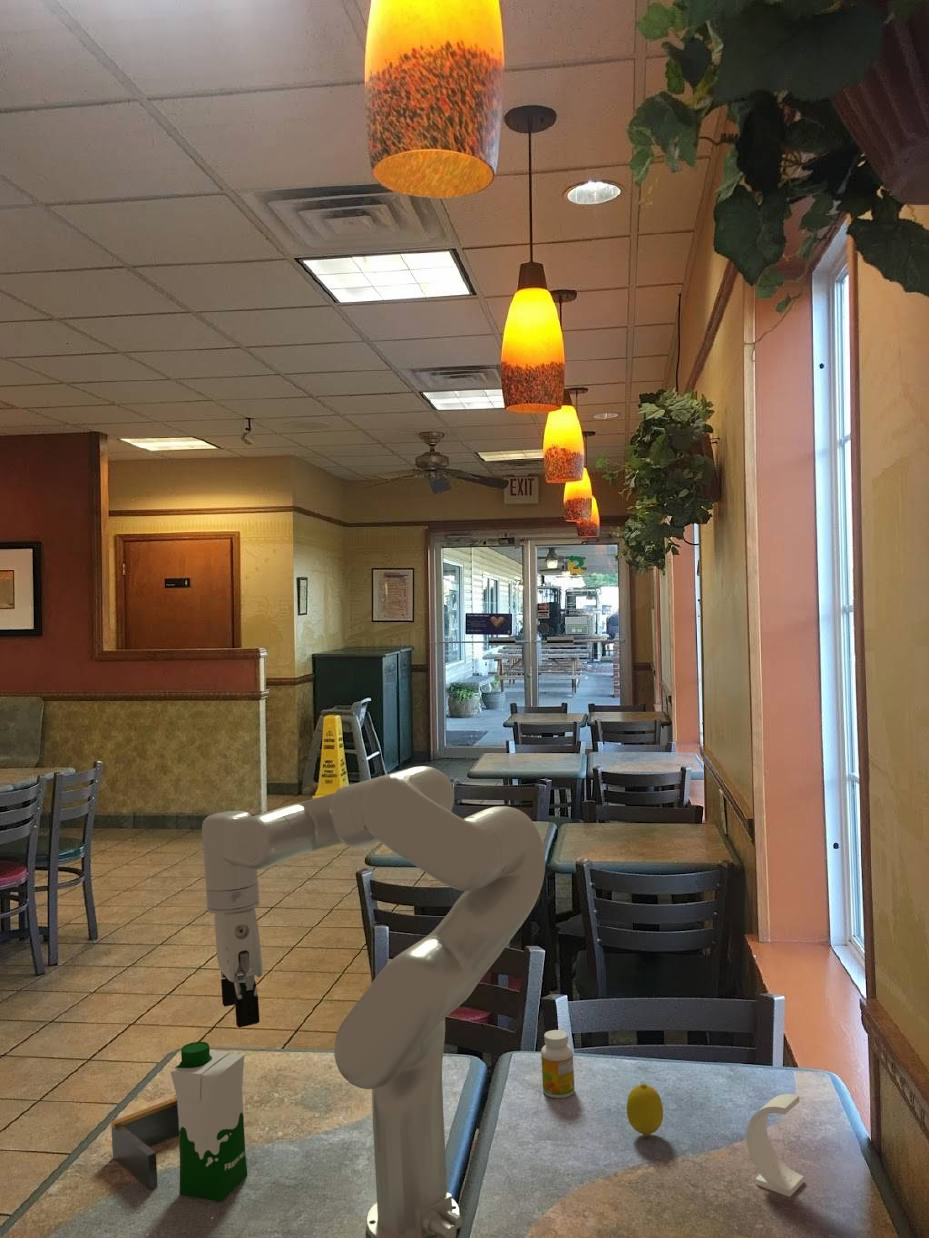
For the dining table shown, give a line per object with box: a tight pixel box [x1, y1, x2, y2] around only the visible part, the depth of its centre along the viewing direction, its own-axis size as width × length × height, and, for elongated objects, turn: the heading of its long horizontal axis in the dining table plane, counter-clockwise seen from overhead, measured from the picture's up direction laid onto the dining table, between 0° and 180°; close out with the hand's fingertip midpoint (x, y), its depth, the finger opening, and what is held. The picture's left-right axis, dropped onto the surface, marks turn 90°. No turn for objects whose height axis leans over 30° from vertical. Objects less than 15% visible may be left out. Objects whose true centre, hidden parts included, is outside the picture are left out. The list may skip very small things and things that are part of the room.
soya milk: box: [170, 1041, 248, 1202], centre depth 145 cm, size 9×9×20 cm
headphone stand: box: [745, 1093, 805, 1198], centre depth 138 cm, size 5×6×12 cm
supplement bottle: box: [540, 1029, 575, 1099], centre depth 169 cm, size 5×5×10 cm
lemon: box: [626, 1083, 664, 1138], centre depth 152 cm, size 6×6×8 cm
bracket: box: [110, 1096, 179, 1191], centre depth 154 cm, size 13×14×6 cm
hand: (240, 1014), depth 145 cm, fingers open, 9 cm apart
